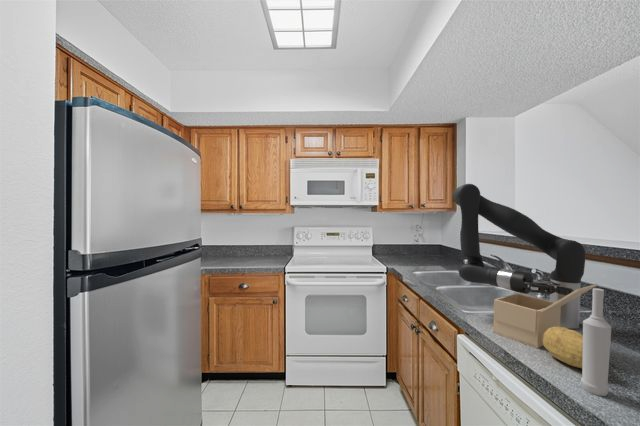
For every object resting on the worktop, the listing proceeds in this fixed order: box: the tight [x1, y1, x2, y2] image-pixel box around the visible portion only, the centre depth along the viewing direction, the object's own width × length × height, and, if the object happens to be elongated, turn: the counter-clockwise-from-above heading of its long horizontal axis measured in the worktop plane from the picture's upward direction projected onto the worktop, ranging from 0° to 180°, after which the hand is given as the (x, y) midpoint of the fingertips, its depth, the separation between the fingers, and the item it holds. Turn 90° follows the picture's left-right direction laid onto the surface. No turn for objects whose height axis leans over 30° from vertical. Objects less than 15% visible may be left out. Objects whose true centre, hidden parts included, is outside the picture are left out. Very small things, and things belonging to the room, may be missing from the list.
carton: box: [492, 293, 561, 349], centre depth 107 cm, size 17×14×12 cm
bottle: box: [580, 287, 612, 397], centre depth 75 cm, size 5×5×25 cm
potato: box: [542, 327, 583, 369], centre depth 88 cm, size 10×14×10 cm
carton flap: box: [541, 283, 599, 312], centre depth 96 cm, size 15×13×1 cm
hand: (572, 292), depth 96 cm, fingers closed
